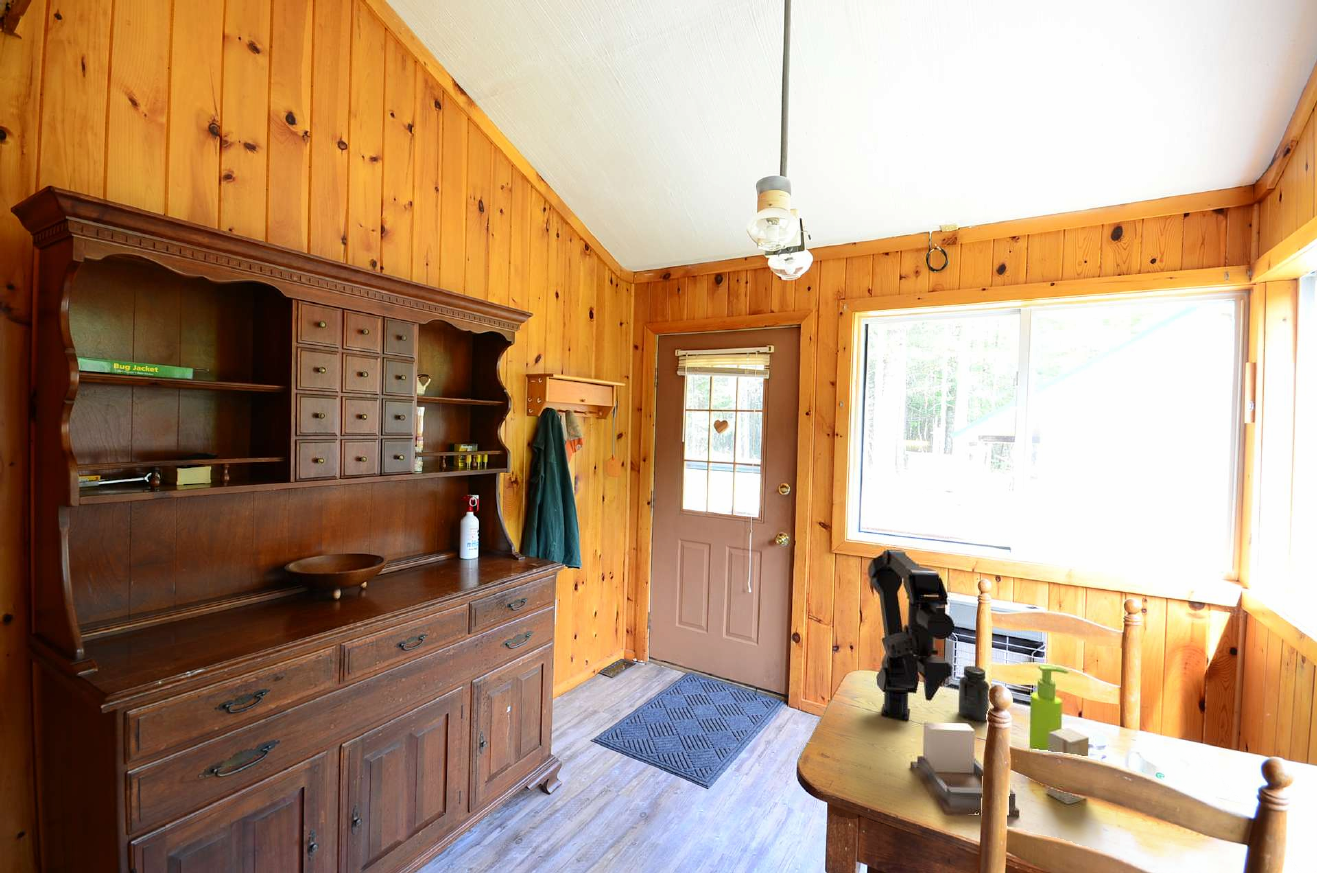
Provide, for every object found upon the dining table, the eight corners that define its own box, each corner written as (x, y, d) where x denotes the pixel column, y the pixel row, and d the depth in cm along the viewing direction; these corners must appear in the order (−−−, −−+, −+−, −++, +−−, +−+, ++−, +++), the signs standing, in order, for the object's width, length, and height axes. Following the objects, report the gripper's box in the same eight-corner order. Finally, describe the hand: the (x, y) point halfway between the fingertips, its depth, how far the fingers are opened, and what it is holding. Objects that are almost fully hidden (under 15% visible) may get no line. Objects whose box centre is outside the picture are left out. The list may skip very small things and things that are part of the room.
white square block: (920, 761, 127) (921, 720, 127) (963, 762, 126) (964, 721, 126) (929, 771, 123) (930, 729, 123) (973, 773, 122) (974, 730, 122)
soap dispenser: (1071, 765, 129) (1073, 673, 129) (1035, 761, 130) (1038, 670, 130) (1058, 751, 135) (1060, 663, 135) (1025, 747, 136) (1027, 660, 136)
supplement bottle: (973, 709, 155) (974, 663, 155) (995, 721, 149) (996, 673, 149) (952, 711, 153) (953, 665, 153) (973, 724, 147) (974, 676, 147)
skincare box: (1067, 806, 114) (1069, 742, 114) (1045, 793, 118) (1046, 732, 118) (1088, 798, 117) (1090, 736, 117) (1066, 786, 121) (1067, 726, 121)
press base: (910, 767, 127) (910, 747, 127) (974, 768, 126) (974, 749, 126) (946, 814, 111) (946, 792, 111) (1019, 816, 110) (1019, 794, 110)
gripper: (872, 611, 146) (870, 673, 146) (902, 637, 128) (900, 709, 128) (917, 612, 146) (915, 675, 146) (954, 638, 127) (952, 710, 128)
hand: (919, 691), depth 137 cm, fingers open, 9 cm apart
